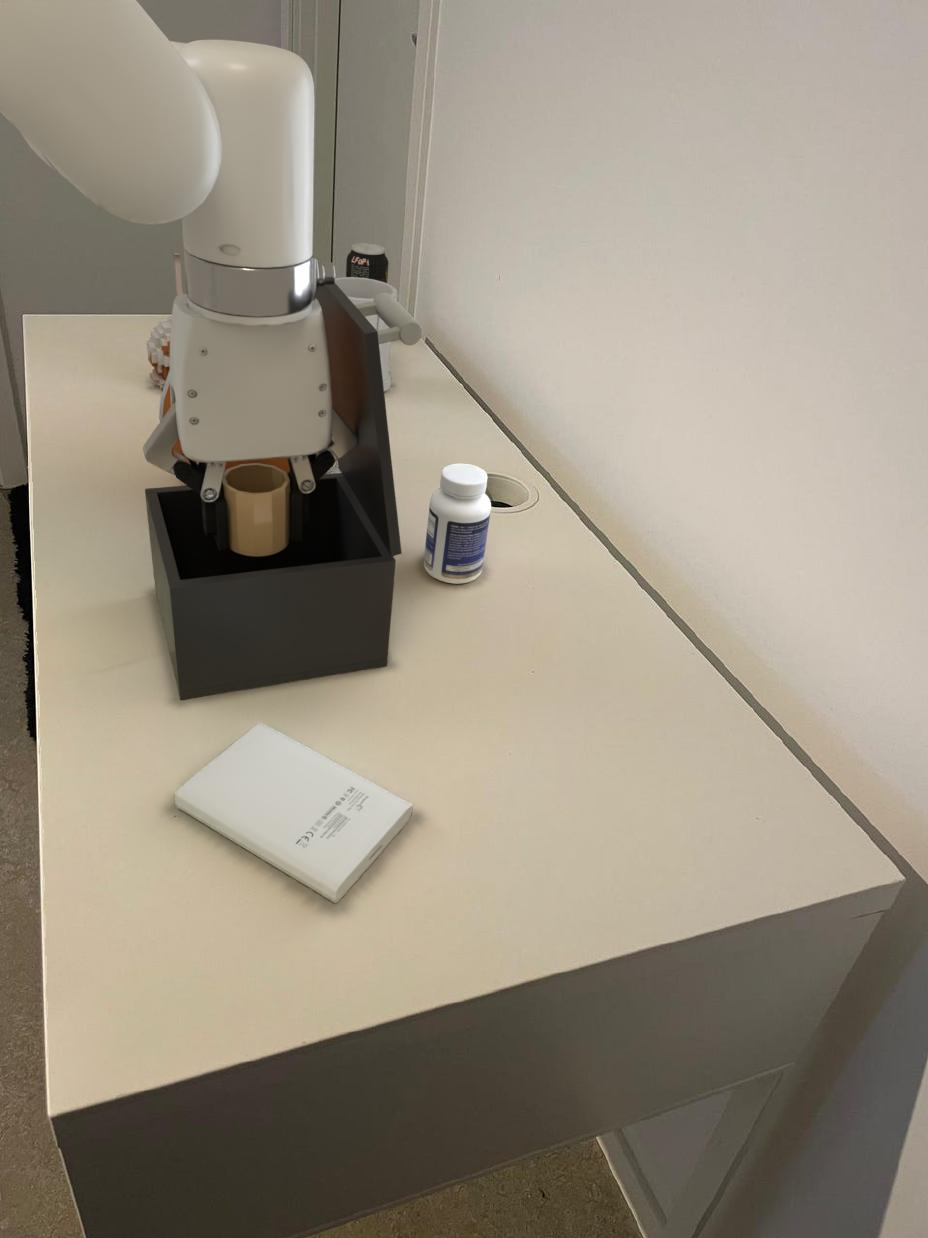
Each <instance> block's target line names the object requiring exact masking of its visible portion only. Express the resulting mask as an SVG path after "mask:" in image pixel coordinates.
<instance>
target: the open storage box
mask: <svg viewBox="0 0 928 1238" xmlns="http://www.w3.org/2000/svg"><path fill="white" fill-rule="evenodd" d="M144 495H145V505H146V513H147V514H146V515H147V526H148V532H149V533H148V534H149V542H150V543H149V544H150V554H151V560H152V561H151V563H152V571H153V581H154V592H155V596H156V601H157V606H158V610H159V615H160V618H161V622H162V628H163V631H164V636H165V640H166V645H167V649H168V653H169V658H170V662H171V666H172V671H173V675H174V679H175V683H176V688H177V692H178V697H179V700H180V701H182V700H188V699H189V700H191V699H196V698H202V697H207V696H208V697H209V696H213V695H219V694H225V693H231V692H238V691H244V690H249V689H257V688H261V687H269V686H273V685H274V686H275V685H280V684H286V683H292V682H298V681H304V680H310V679H317V678H322V677H323V678H324V677H328V676H329V677H330V676H336V675H341V674H347V673H353V672H358V671H364V670H370V669H371V670H372V669H377V668H383V667H387V666H388V659H389V658H388V657H389V648H390V647H389V646H390V635H391V624H392V611H393V602H394V601H393V599H394V588H395V576H396V575H395V574H396V563H397V561H396V559H395V556H391V555H390V553H389V552H388V550H387V548H386V547H385V545H384V543H383V542H382V540H381V538H380V537H379V535H378V533H377V532H376V530H375V528H374V527H373V525H372V523H371V522H370V520H369V518H368V517H367V515H366V513H365V512H364V510H363V508H362V507H361V505H360V503H359V501H358V500H357V498H356V496H355V495H354V493H353V491H352V490H351V488H350V486H349V485H348V483H347V481H346V480H345V478H344V476H343V475H342V473H341V472H337V473H325V474H324V475H323V476H322V477H321V478H320V479H319V480H318V481H317V482H316V487H315V489H314V490H313V491H312V492H311V493H309V525H304V526H302V542H298V543H295V542H294V541H291V539H290V538H289V543H288V545H287V546H286V547H285V548H284V549H283V550H282V551H280V552H278V553H275V554H272V555H268V556H246V555H242V554H239V553H236V552H234V551H232V550H231V549H230V548H227V550H226V551H219V550H218V547H217V544H216V541H215V538H214V535H208V536H206V534H205V531H204V526H203V516H202V501H201V495H199V494H198V493H197V492H195V491H194V490H192V489H191V488H190V487H188V486H187V485H186V484H185V485H174V486H163V487H149V488H145V489H144Z"/></svg>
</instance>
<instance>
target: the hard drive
mask: <svg viewBox="0 0 928 1238" xmlns="http://www.w3.org/2000/svg"><path fill="white" fill-rule="evenodd" d="M174 804H175V808H178V809H179V810H181V811H182V812H184V813H185V814H187V815H189V816H190V817H192V818H193V819H195V820H197V821H198V822H201V823H202V824H203V825H205V826H207V827H209V828H210V829H212V830H213V831H215V832H217V833H219V835H222V836H223V837H224V838H227V839H228V840H230V841H231V842H234V843H235V844H236V845H239V846H240V847H242V848H243V849H244V850H246V851H248V852H249V853H251V854H253V855H255V856H256V857H258V858H259V859H261V860H263V861H264V862H266V863H268V864H269V865H270V866H273V867H274V868H277V869H278V870H279V871H281V872H282V873H284V874H286V875H288V876H289V877H291V878H292V879H294V880H295V881H297V882H299V883H301V884H302V885H304V886H305V887H307V888H309V889H310V890H312V891H314V892H316V893H317V894H319V895H320V896H322V897H323V898H325V899H327V900H329V901H330V902H332V903H333V904H336V903H338V902H339V901H340V900H341V899H342V898H343V897H344V896H345V895H346V894H347V893H348V891H349V890H350V889H351V888H352V887H353V886H354V885H355V883H356V882H357V881H358V880H359V879H360V878H361V877H362V875H363V874H364V873H365V872H366V870H367V869H369V867H370V866H371V865H372V863H374V861H375V860H376V859H377V858H378V857H379V856H380V855H381V853H382V852H384V850H385V849H386V847H388V845H389V844H391V842H392V841H393V840H394V839H395V837H396V836H397V835H398V834H399V833H400V832H401V831H402V829H403V828H404V827H405V826H406V825H407V824H408V822H409V820H410V819H411V817H412V813H413V805H414V804H412V803H410V802H409V801H407V800H405V799H403V798H401V797H399V796H397V795H396V794H394V793H392V792H390V791H388V790H386V789H384V788H383V787H381V786H379V785H378V784H375V783H374V782H372V781H370V780H368V779H367V778H365V777H363V776H361V775H359V774H358V773H355V772H354V771H352V770H350V769H348V768H347V767H344V766H343V765H341V764H339V763H337V762H335V761H334V760H331V759H330V758H328V757H326V756H324V755H322V754H321V753H319V752H317V751H315V750H314V749H312V748H310V747H308V746H306V745H304V744H302V743H301V742H298V741H297V740H295V739H293V738H291V737H290V736H288V735H285V733H282V732H280V731H278V730H276V729H275V728H273V727H271V726H269V725H267V724H265V723H263V722H258V723H256V725H254V726H253V727H252V728H250V729H249V730H248V731H247V732H245V733H244V734H243V735H242V736H240V737H239V738H238V739H237V740H236V741H234V742H233V743H232V744H231V745H230V746H228V747H227V748H226V749H225V750H224V751H222V752H221V753H220V754H219V755H218V756H216V757H215V758H214V759H212V760H211V761H210V762H209V763H207V764H206V765H205V766H204V767H203V768H201V769H200V770H199V771H197V772H196V774H194V775H193V776H192V777H190V778H189V779H188V780H187V781H186V782H184V783H183V784H182V785H180V787H178V788H177V789H176V791H175V792H174Z"/></svg>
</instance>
